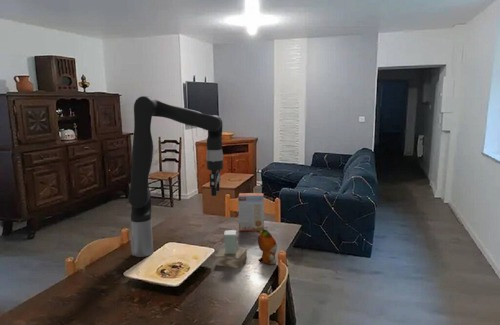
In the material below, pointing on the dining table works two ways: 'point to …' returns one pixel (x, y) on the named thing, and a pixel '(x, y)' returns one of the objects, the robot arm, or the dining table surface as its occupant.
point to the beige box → (231, 258)
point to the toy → (267, 247)
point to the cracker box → (251, 211)
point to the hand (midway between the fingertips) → (215, 193)
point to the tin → (230, 242)
